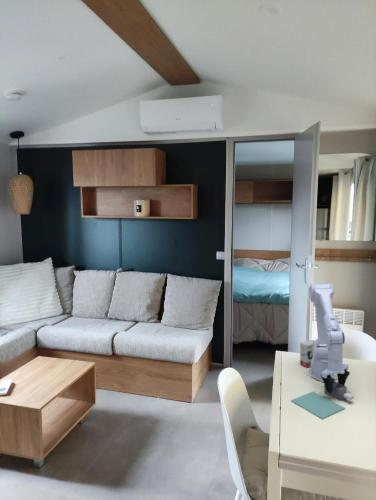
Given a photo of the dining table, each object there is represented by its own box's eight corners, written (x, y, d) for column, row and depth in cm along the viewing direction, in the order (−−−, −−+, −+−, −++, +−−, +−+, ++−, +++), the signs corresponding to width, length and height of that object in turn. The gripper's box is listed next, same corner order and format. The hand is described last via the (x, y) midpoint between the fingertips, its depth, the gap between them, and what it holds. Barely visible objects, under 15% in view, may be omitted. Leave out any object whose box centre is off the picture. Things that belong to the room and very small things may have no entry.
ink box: (306, 368, 180) (306, 345, 179) (299, 364, 184) (299, 342, 183) (320, 364, 183) (319, 342, 182) (313, 361, 188) (312, 339, 187)
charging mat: (290, 401, 150) (290, 400, 150) (312, 392, 157) (312, 391, 157) (322, 419, 136) (322, 418, 136) (345, 408, 143) (345, 407, 143)
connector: (322, 392, 157) (322, 380, 156) (328, 389, 159) (328, 378, 158) (348, 405, 145) (348, 393, 145) (355, 402, 147) (355, 390, 147)
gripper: (331, 365, 144) (331, 398, 146) (354, 357, 152) (354, 388, 153) (317, 360, 151) (317, 391, 152) (340, 352, 158) (340, 382, 159)
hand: (335, 389), depth 153 cm, fingers open, 7 cm apart
